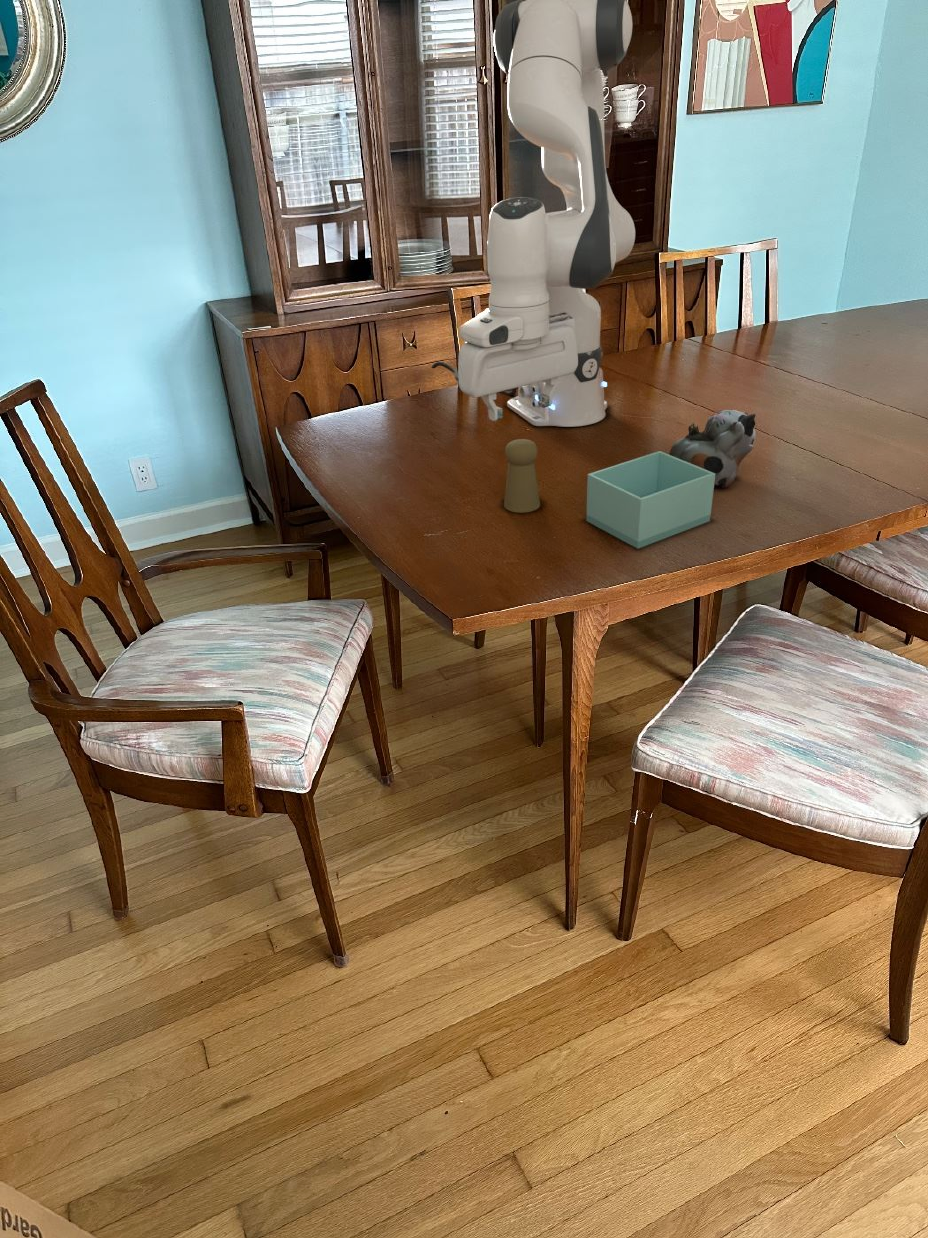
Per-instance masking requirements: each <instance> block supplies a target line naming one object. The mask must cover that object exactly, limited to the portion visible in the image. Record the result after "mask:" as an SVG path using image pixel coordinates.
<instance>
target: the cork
mask: <svg viewBox="0 0 928 1238" xmlns="http://www.w3.org/2000/svg"><path fill="white" fill-rule="evenodd" d="M504 456H505V459H506V461H507V462H508V465H507V473H506V484H505V492H504V493H505V494H504V502H503V507H504V509H505V510H507V511H509V512H513V513H517V514H518V513H531V512H534V511H536V510H538V509H539V508H540V507H541V501H540V496H539V494H540V493H539V487H538V480H537V473H536V465H535V461H536V460H537V458H538V446H537V445H536V443H535V442H534V441H532V440H530V439H527V438H518V439H513V440H511V441H509V442H508V443H507V444H506V446H505V450H504Z"/></svg>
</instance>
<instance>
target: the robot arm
mask: <svg viewBox="0 0 928 1238" xmlns="http://www.w3.org/2000/svg"><path fill="white" fill-rule="evenodd" d="M632 33H633V17H632V12H631V9H630V6H629V1H628V0H515V1H511V2H510V3H508V4H505V5H504V6H503V7H502V9H501V10H500V12H499V13H498V14H497V16H496V20H495V24H494V32H493V47H494V52H495V56H496V60H497V63H498V66H499V68H500V69H501V70H502V71H503V72H504V73H505V74H506V75H507V76H508V77H507V78H508V79H507V92H506V93H507V94H506V95H507V96H506V97H507V98H506V99H507V112H508V117H509V119H510V121H511V123H512V125H513V127H514V128H515V129H516V131H517V132H518V133H519V134H520V135H521V136H522V137H523V138H524V139H526V140H527V141H528V142H530V143H531V144H533V145H536V146H537V147H539V148H541V169H542V172H543V175H544V177H545V178H546V179H547V181H549V182H550V183H551V184H553V185H554V186H556V187H558V188H559V189H560V190H561V192H562V194H563V196H564V199H565V200H564V201H565V204H566V210H558V211H550V212H546V208H545V204H544V203H543V202H542V201H541V200H539V199H537V198H533V197H528V196H519V197H510V198H508V199H503V200H501V201H499V202H496V204H494V205H493V206H492V207H491V209H490V213H489V221H488V232H487V241H486V270H487V274H488V277H489V282H490V292H489V296H488V308H486V309H485V310H484V311H482V312H480V313H479V314H477V316H475V317H473V318H472V319H470V320H469V321H467V322H465V323H464V324H462V325H461V326H460V328H459V336H460V339H461V340H463V341H464V343H462V345H461V347H460V348H459V352H458V362H457V365H458V366H457V368H455V367H453V366H451V365H449V364H448V363H446V362H443V361H436V362H434V363H433V364H432V365H431V369H436V368H437V367H443V368H445V369H447V370H449V372H452V373H453V374H454V379H455V380H456V382H457V383H458V388H459V389H460V391H461V392H462V393H463V394H465V395H466V396H469V397H471V398H474V399H477V398H481V400H482V401H483V403H484V404H485V406H486V407H487V410H488V411H487V412H488V413H487V414H488V419H489V421H492V422H497V421H500V420H503V418H504V417H503V416H504V415H503V413H504V411H503V408H502V407H501V406H500V407H499V406H497V405H496V402H495V400H497V393H502V394H505V395H507V396H511V397H512V396H514V395H516V394H517V396H515V397H512V398H510V399H508V401H507V402H506V407H507V408H508V409H510V410H511V411H513V412H514V413H515V414H518V416H520V417H521V418H522V419H524V420H526V421H527V422H528V423H529V424H531V425H532V426H535V427H554V426H555V427H562V428H563V427H564V428H565V427H566V428H569V427H570V428H571V427H583V426H588V425H589V426H590V425H592V424H596V423H598V422H600V421H602V420H604V419H605V417H606V415H607V414H606V409H607V408H608V402H607V400H605V389H604V388H606V387H608V382H606V381H604V372H603V369H602V368H601V366H602V363H603V361H602V360H603V359H602V357H603V347H602V345H601V323H602V322H601V320H602V309H601V306H600V303H599V302H598V301H597V299H596V298H595V297H593V296H592V295H591V294H589V293H587V292H585V291H584V290H592V291H593V290H595V289H597V288H598V287H599V286H600V285H602V284H604V282H606V281H607V280H608V279H609V278H610V276H612V274H613V272H614V268H615V265H616V264H617V263H619V262H622V261H623V260H624V259H626V258H627V257H629V255H630V253H632V250H633V248H634V244H635V240H636V227H635V223H634V219H633V218H632V216H631V214H630V213H629V212H628V211H627V209H625V208H624V207H623V206H622V205H621V204H620V203H619V202H618V200H617V199H616V197H615V195H614V193H613V190H612V187H611V185H610V182H609V177H608V174H607V166H606V149H605V97H604V85H603V77H604V78H606V77H609V75H610V73H611V69H613V68H615V67H617V66H618V65H619V64H620V63H621V62H622V60H623V59H624V58H625V56H626V55H627V53H628V47H629V46H630V43H631V39H632V35H633V34H632ZM602 74H603V77H602Z"/></svg>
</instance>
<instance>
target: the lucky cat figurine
mask: <svg viewBox="0 0 928 1238" xmlns="http://www.w3.org/2000/svg"><path fill="white" fill-rule="evenodd" d="M755 418H756V413H751V414H748V412H743V411H739V410H736V409H724V410H722V411H720V412H718V413H716V414H714V415H712V416H710V417H709V418H708V419H707V421H706V423H705V426H704V430H702V431H701V432H700V429H699V426H698V424H696V423H695V422H692V423H691V424H690V425H689V426H688V429H687V430H688V434H686V436H685V437H684V438H679V439H678V440H676V441H675V442H674V443H673V445H672V446H671V448H670V451H669V453H668V455H671V456H673V457H676V458H678V459H681V460H683V461H686V462H688V463H691V464H693V465H695V466H698V467H700V468H703V469H705V470H708V471H710V472H713V473H715V482H714V486H717V487H718V486H719V487H720V488H722V489H727V488H728V487H730V486H731V485H733V482H734V481H735V479H736V477H737V476H738V475H737V474H738V468H739V466H740V464H741V462H742V461H743V460H744V459H745V457H747V456H748V455H749V453H750V452H752V451H753V450H754V446H755V445H754V441H755V440H756V434H757V431H756V429H755V426H756V420H755Z"/></svg>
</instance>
